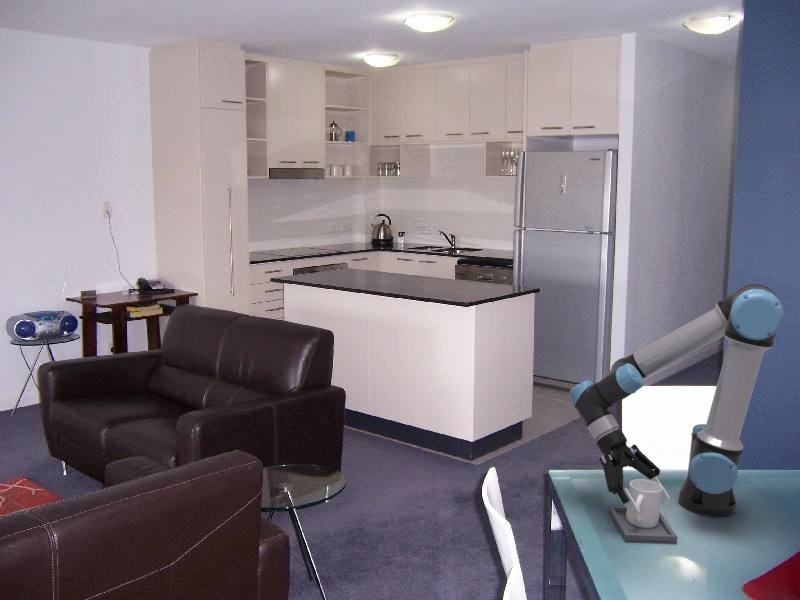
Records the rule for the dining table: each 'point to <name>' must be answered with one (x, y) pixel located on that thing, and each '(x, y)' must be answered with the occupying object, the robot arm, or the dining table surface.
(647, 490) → the mug
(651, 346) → the robot arm
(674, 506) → the dining table surface
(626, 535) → the tray
